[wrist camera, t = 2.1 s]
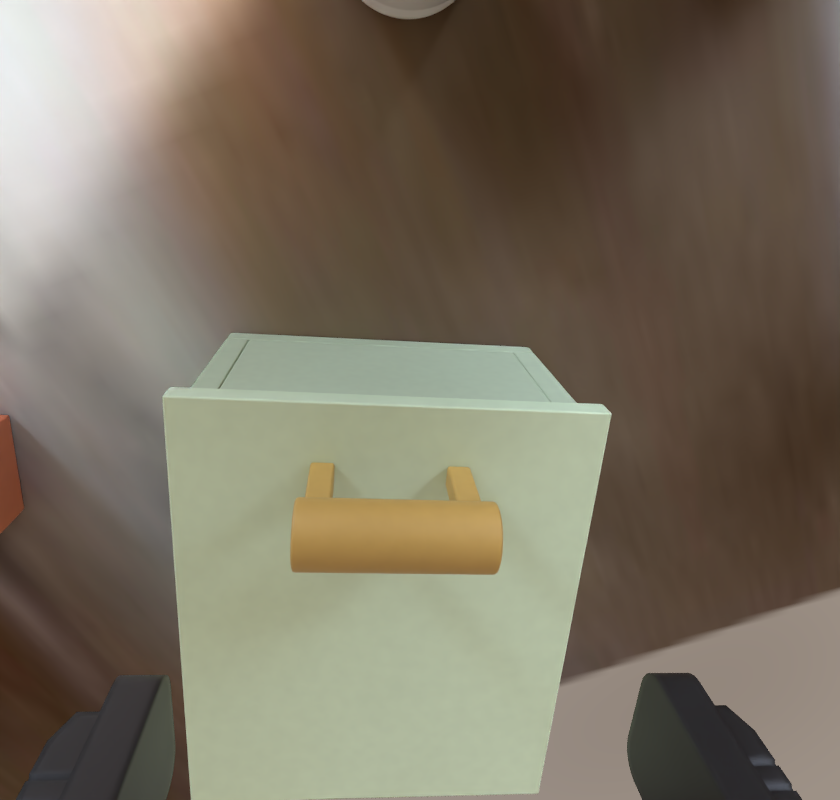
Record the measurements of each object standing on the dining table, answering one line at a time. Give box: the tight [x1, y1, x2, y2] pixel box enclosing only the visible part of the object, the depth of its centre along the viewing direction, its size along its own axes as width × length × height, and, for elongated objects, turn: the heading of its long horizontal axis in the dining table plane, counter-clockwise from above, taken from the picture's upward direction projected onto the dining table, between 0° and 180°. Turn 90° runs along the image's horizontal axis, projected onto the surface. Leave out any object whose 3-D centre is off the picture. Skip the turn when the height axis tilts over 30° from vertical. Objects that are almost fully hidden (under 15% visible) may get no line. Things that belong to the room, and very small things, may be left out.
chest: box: [191, 333, 576, 403], centre depth 26 cm, size 15×13×9 cm
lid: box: [162, 387, 611, 800], centre depth 19 cm, size 16×13×5 cm
